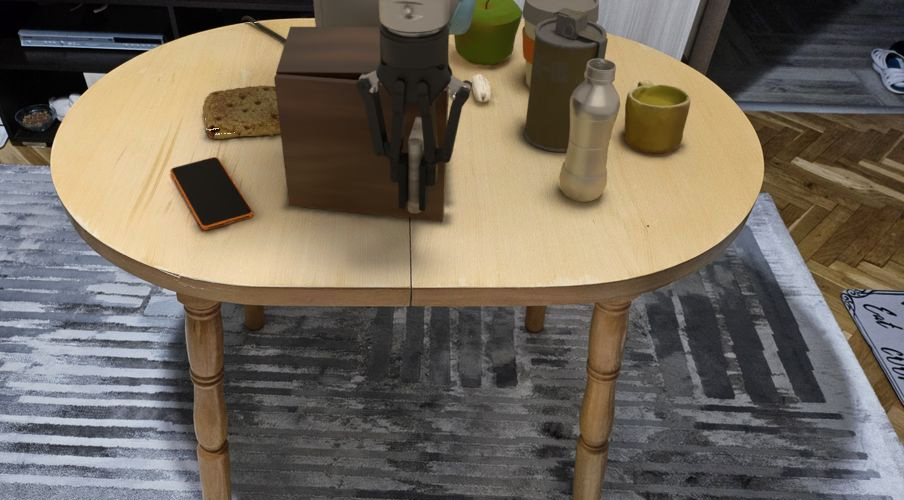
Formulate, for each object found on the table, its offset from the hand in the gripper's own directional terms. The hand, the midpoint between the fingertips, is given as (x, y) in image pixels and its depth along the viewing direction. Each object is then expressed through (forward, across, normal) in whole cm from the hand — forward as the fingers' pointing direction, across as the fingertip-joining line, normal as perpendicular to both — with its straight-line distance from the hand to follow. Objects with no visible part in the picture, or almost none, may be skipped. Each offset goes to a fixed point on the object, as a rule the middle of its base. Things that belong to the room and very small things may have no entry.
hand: (413, 203), depth 102 cm
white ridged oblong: (+8, +4, +44) cm, 45 cm away
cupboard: (+7, -10, +16) cm, 20 cm away
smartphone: (+7, -31, +7) cm, 33 cm away
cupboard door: (+7, -8, +4) cm, 11 cm away
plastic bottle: (+8, +21, +17) cm, 28 cm away
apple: (+8, +2, +59) cm, 60 cm away
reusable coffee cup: (+8, +15, +51) cm, 54 cm away
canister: (+8, +17, +33) cm, 38 cm away
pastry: (+8, -33, +30) cm, 45 cm away
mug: (+8, +31, +36) cm, 48 cm away
